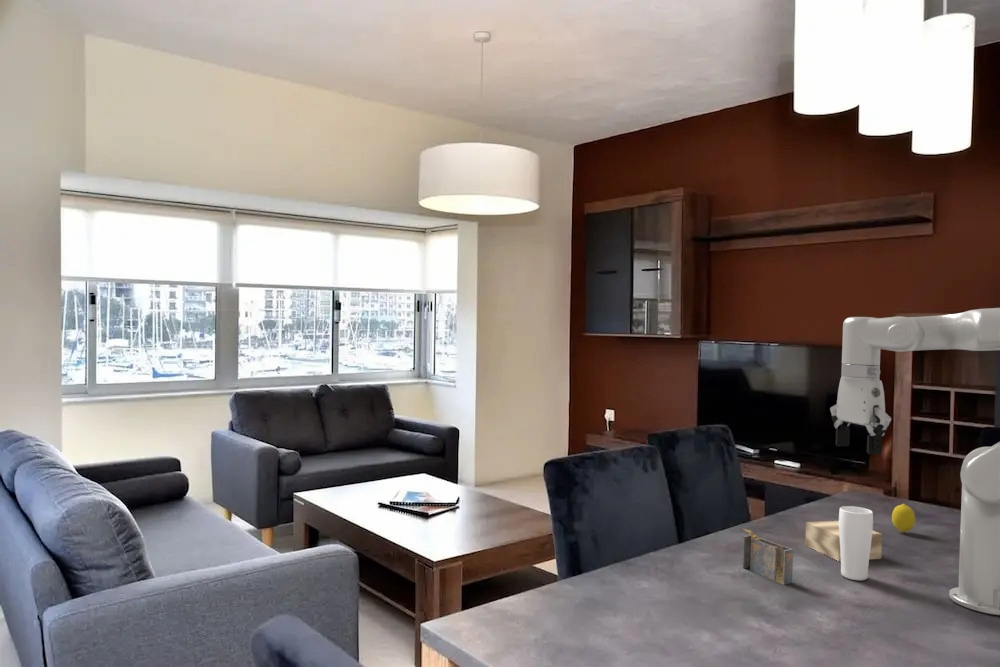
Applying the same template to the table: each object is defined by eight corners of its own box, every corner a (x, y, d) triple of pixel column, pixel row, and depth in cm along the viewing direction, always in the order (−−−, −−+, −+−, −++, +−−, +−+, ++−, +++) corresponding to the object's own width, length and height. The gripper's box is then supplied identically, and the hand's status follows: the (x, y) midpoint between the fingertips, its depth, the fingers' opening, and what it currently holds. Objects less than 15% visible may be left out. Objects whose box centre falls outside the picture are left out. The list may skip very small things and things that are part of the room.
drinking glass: (875, 584, 151) (877, 514, 151) (841, 581, 153) (843, 512, 153) (865, 573, 158) (867, 507, 158) (833, 570, 159) (835, 504, 159)
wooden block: (881, 558, 169) (882, 533, 169) (838, 561, 166) (839, 536, 166) (846, 543, 180) (846, 520, 180) (805, 545, 178) (805, 522, 178)
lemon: (886, 531, 193) (887, 502, 193) (900, 529, 195) (901, 500, 195) (905, 536, 188) (906, 507, 188) (919, 534, 190) (920, 505, 190)
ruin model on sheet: (741, 570, 160) (742, 527, 160) (750, 568, 161) (751, 526, 161) (782, 587, 150) (783, 541, 150) (792, 584, 151) (793, 539, 151)
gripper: (905, 375, 147) (902, 457, 148) (847, 370, 164) (845, 443, 165) (874, 375, 146) (872, 457, 146) (819, 369, 163) (817, 443, 163)
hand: (857, 449), depth 155 cm, fingers open, 9 cm apart
